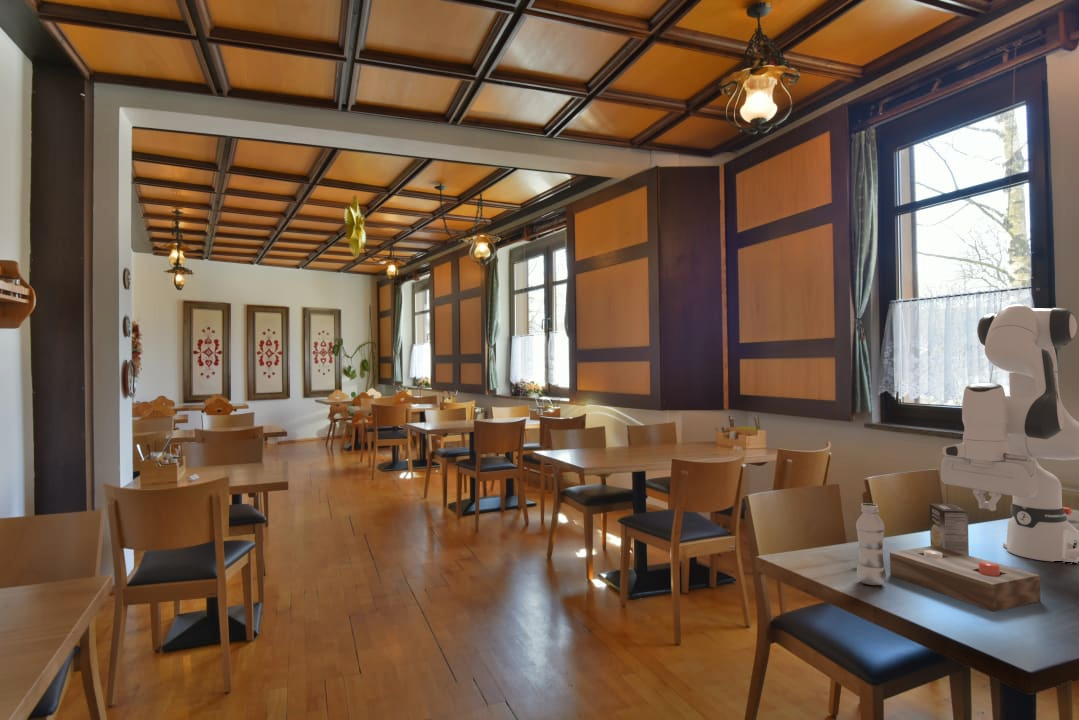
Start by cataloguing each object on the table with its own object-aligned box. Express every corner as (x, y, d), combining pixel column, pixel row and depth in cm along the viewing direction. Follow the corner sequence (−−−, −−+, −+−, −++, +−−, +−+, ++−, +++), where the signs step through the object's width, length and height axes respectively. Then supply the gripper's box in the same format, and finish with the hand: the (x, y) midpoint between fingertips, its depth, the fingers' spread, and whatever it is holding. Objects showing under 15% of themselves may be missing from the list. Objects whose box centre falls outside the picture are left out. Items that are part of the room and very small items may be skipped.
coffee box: (929, 559, 172) (928, 502, 172) (954, 560, 171) (953, 503, 171) (944, 570, 163) (942, 510, 163) (970, 571, 162) (969, 511, 162)
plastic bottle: (850, 581, 155) (849, 503, 155) (869, 578, 157) (867, 501, 158) (873, 590, 149) (871, 508, 149) (892, 585, 152) (890, 506, 152)
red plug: (986, 588, 146) (986, 560, 146) (1004, 593, 142) (1003, 565, 142) (975, 590, 144) (974, 562, 145) (992, 596, 141) (991, 568, 141)
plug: (932, 574, 159) (931, 549, 159) (946, 579, 155) (946, 553, 155) (921, 576, 158) (920, 551, 158) (935, 581, 154) (934, 555, 154)
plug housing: (934, 567, 165) (933, 545, 165) (1040, 601, 140) (1039, 575, 140) (890, 575, 159) (889, 552, 159) (993, 611, 135) (992, 584, 135)
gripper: (1043, 456, 135) (1045, 517, 135) (953, 445, 154) (955, 500, 154) (1024, 457, 133) (1026, 520, 133) (935, 447, 152) (937, 502, 152)
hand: (987, 509), depth 144 cm, fingers closed
